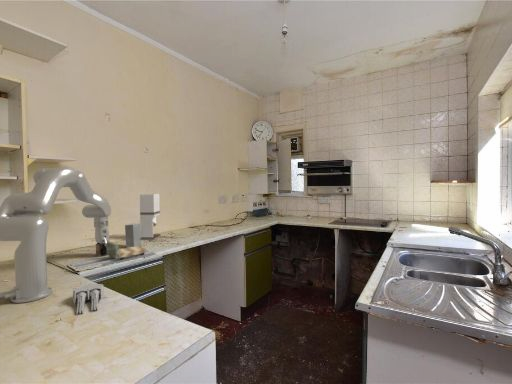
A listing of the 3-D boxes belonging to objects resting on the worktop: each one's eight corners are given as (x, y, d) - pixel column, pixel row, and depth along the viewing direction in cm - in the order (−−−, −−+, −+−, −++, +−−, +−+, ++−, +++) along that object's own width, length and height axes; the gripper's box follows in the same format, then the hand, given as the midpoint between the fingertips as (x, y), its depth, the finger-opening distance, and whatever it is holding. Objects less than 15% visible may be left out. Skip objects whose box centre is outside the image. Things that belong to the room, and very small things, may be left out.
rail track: (76, 272, 131) (76, 269, 131) (67, 265, 142) (66, 263, 142) (156, 254, 163) (156, 252, 163) (143, 250, 174) (143, 248, 174)
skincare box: (134, 248, 178) (133, 225, 177) (124, 248, 179) (124, 224, 179) (141, 245, 186) (141, 223, 185) (132, 245, 187) (132, 222, 187)
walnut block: (99, 256, 158) (98, 245, 158) (96, 255, 162) (95, 243, 161) (108, 254, 162) (107, 243, 162) (104, 253, 165) (104, 242, 165)
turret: (70, 323, 89) (69, 311, 88) (74, 293, 105) (74, 282, 105) (104, 315, 94) (103, 303, 93) (103, 287, 110) (103, 277, 110)
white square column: (154, 240, 203) (153, 194, 202) (140, 240, 203) (139, 194, 202) (160, 236, 215) (159, 193, 213) (147, 236, 215) (146, 193, 213)
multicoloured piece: (116, 261, 147) (115, 245, 147) (107, 257, 155) (107, 242, 155) (146, 254, 161) (146, 239, 160) (137, 251, 168) (136, 237, 168)
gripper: (113, 224, 159) (114, 254, 159) (102, 222, 170) (103, 250, 170) (99, 226, 153) (100, 257, 154) (89, 223, 164) (90, 252, 165)
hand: (102, 253), depth 162 cm, fingers closed on walnut block, 5 cm apart
